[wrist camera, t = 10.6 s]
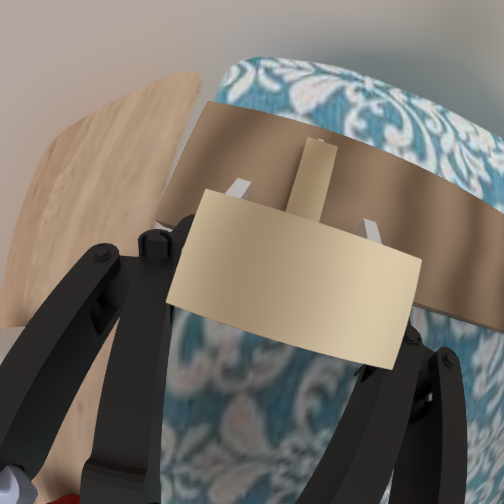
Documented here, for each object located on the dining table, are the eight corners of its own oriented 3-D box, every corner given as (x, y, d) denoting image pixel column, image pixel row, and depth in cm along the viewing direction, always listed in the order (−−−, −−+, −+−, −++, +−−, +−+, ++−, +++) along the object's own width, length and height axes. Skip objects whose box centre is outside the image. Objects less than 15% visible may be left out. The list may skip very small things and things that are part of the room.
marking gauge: (352, 176, 19) (428, 67, 8) (312, 324, 18) (392, 369, 6) (275, 152, 20) (285, 18, 8) (226, 297, 18) (165, 302, 7)
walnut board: (525, 242, 18) (537, 238, 16) (513, 336, 17) (526, 337, 15) (212, 115, 21) (208, 100, 19) (164, 226, 20) (154, 219, 18)
